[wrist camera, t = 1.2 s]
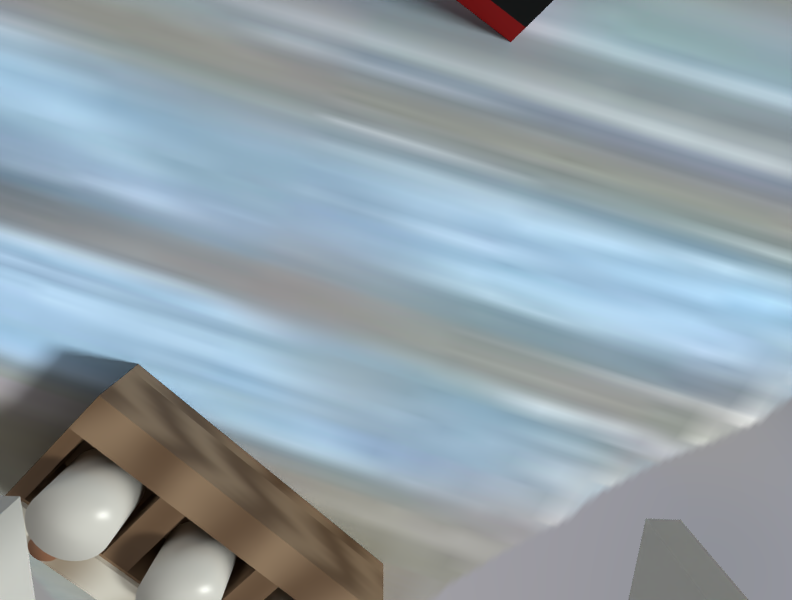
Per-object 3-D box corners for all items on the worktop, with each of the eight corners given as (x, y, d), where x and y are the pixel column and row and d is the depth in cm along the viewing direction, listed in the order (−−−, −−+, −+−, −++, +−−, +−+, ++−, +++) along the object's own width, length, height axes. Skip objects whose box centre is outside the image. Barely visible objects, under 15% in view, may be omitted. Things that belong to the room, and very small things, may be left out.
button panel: (35, 473, 37) (-25, 525, 31) (138, 364, 35) (93, 400, 30) (280, 651, 42) (265, 723, 36) (383, 563, 40) (383, 626, 34)
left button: (53, 481, 34) (7, 526, 29) (99, 433, 33) (58, 472, 29) (115, 526, 35) (78, 575, 30) (161, 480, 34) (130, 524, 30)
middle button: (149, 551, 35) (118, 603, 31) (196, 507, 34) (170, 554, 30) (205, 592, 36) (182, 647, 32) (252, 550, 35) (234, 601, 31)
